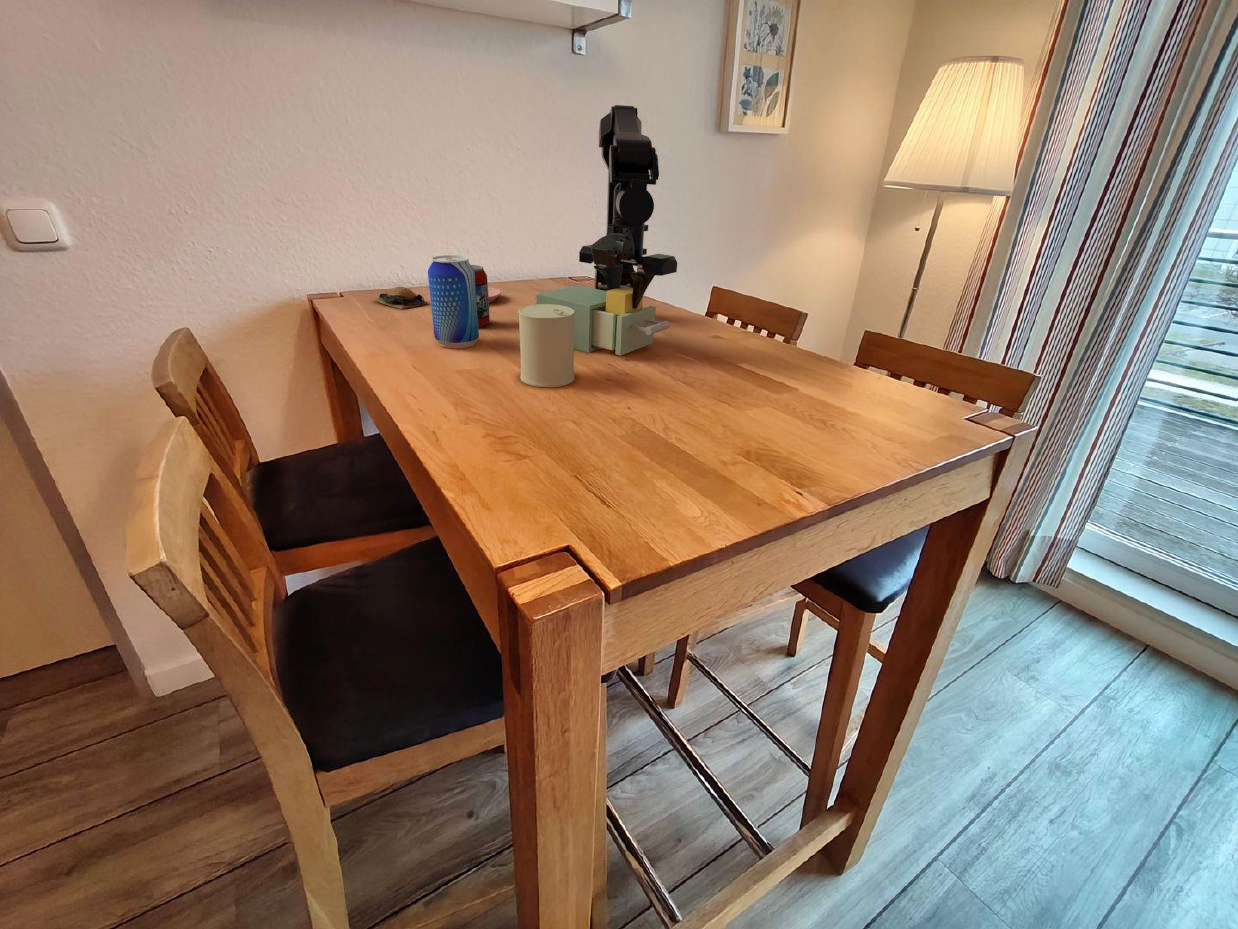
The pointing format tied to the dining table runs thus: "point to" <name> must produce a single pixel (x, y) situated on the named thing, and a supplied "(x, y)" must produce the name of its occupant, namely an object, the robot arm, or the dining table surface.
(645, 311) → the drawer
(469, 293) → the beer can
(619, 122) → the robot arm
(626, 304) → the block
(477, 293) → the beverage can
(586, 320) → the cabinet
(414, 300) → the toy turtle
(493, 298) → the plate
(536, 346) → the can
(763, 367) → the dining table surface
